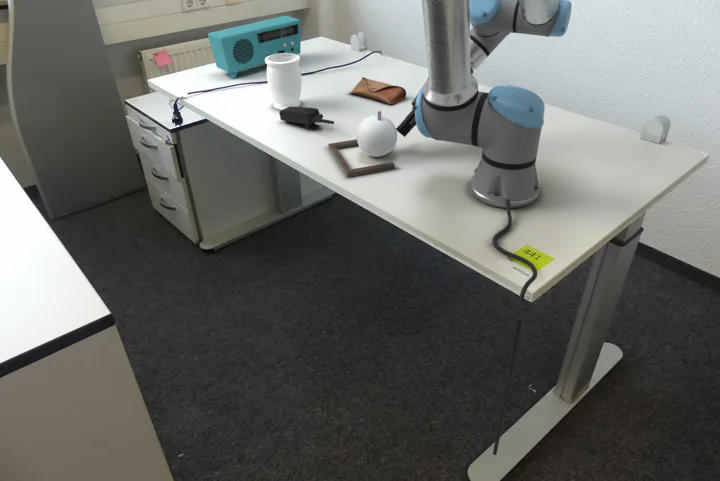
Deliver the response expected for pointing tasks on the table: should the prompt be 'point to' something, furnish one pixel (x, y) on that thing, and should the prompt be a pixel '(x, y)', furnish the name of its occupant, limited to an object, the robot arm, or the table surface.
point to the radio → (254, 43)
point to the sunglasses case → (379, 91)
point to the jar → (284, 79)
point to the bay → (357, 171)
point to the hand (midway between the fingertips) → (400, 133)
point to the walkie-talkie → (303, 117)
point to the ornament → (377, 135)
